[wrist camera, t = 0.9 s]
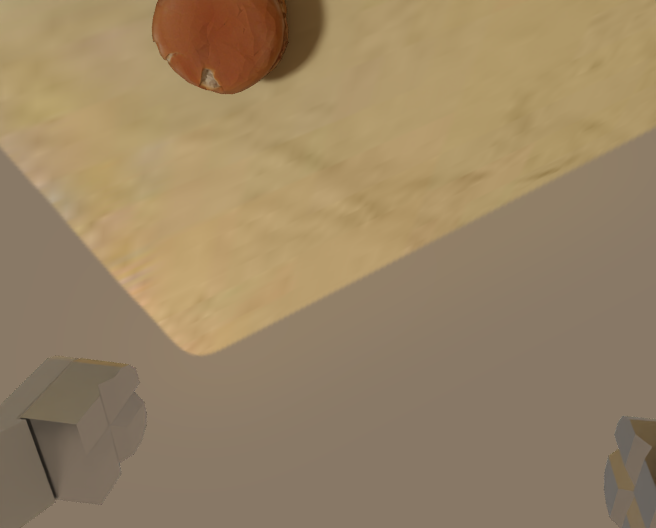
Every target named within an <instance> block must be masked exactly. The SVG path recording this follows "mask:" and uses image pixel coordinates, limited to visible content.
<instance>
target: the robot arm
mask: <svg viewBox="0 0 656 528" xmlns="http://www.w3.org/2000/svg"><path fill="white" fill-rule="evenodd" d="M139 383H140V381H139V378H138V374H137V371H136V368H135V367H133V366H131V365H129V364H121V363H114V362H106V361H99V360H91V359H83V358H80V359H78V358H71V357H64V356H53V357H50V358H47V359H46V360H45V361H44V362H43V363H42V364H41V365H40V366H39V367H38V368H37V369H36V370H35V371H34V372H33V373H32V374H31V375H30V376H29V377H28V378H27V379H26V380H25V381H24V382H23V383H22V384H21V385H20V386H19V387H18V388H17V389H16V390H15V391H14V392H13V393H12V394H11V395H10V396H9V397H8V398H7V399H6V400H5V401H4V402H3V403H2V404H1V405H0V528H21V527H22V526H24V525H25V524H27V523H28V522H29V521H31V520H32V519H33V518H35V517H36V516H38V515H39V514H40V513H42V512H43V511H44V510H46V509H47V508H48V507H50V506H51V505H53V504H54V503H55V500H64V501H72V502H80V503H89V504H98V505H102V504H103V502H104V501H105V499H106V497H107V496H108V494H109V493H110V491H111V490H112V488H113V486H114V485H115V483H116V482H117V480H118V479H119V477H120V476H121V468H120V462H122V461H124V460H125V459H127V458H128V457H130V456H132V455H134V453H135V452H136V450H137V448H138V447H139V445H140V443H141V441H142V438H143V435H144V432H145V428H146V418H147V416H146V415H147V412H146V408H145V403H144V401H143V400H142V399H141V398H140V397H139V396H138V395H137V394H136V393H135V392H134V391H135V389H136V388H137V386H138V385H139ZM615 438H616V441H617V445H618V448H619V449H618V450H616V451H615V452H613V453H612V454H611V455H609V456H608V460H607V464H606V468H605V475H604V493H605V500H606V505H607V509H608V513H609V517H610V518H611V520H612V521H614V522H615V523H616V524H617V525H618V526H619V527H620V528H656V419H650V418H649V419H648V418H638V417H629V416H622V418H621V419H620V420H619V422H618V424H617V428H616V431H615Z"/></svg>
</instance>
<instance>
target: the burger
mask: <svg viewBox="0 0 656 528" xmlns="http://www.w3.org/2000/svg"><path fill="white" fill-rule="evenodd" d="M286 12H287V9H286V4H285V1H284V0H158V2H157V4H156V8H155V12H154V17H153V23H152V37H153V42H156V44H157V46H158V49H159V52H160V54H161V56H162V57H163V59H164V60H167V61H168V63H169V65H170V66H171V67H172V69H173V70H174V71H175V72H176V73H177V74H179V75H180V76H181V77H182V78H184V79H185V80H186V81H187V82H189V83H191V84H193V85H195V86H198V87H200V88H202V89H205V90H210V91H214V92H217V93H220V94H235V93H238V92H241V91H243V90H245V89H247V88H249V87H251V86H252V85H254V84H256V83H257V82H258V81H260V80H261V79H262V78H263V77H264V76H265V75H266V74H268V73H270V71H272V70H273V69H274V68H276V66H277V64H278V62H279V61H280V60H281V59H282V55H283V54H284V51H285V47H286V46H287V44H288V25H287V20H286Z"/></svg>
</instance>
